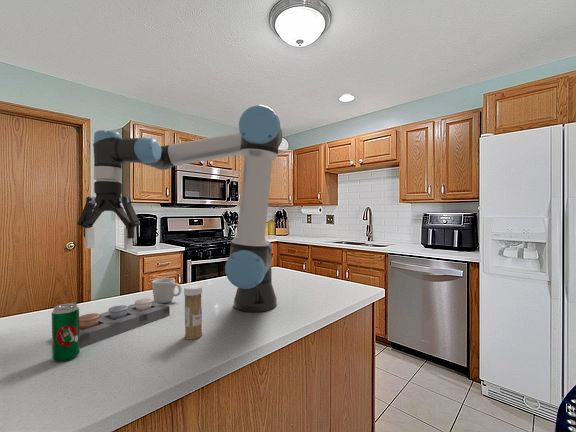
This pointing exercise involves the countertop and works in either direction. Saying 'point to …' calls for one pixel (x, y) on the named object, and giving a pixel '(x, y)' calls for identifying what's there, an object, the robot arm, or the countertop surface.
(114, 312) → the slate button
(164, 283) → the cup
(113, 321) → the button panel
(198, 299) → the sprinkles bottle
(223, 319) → the countertop surface
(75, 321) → the soda can
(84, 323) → the terracotta button
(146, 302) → the cream button
